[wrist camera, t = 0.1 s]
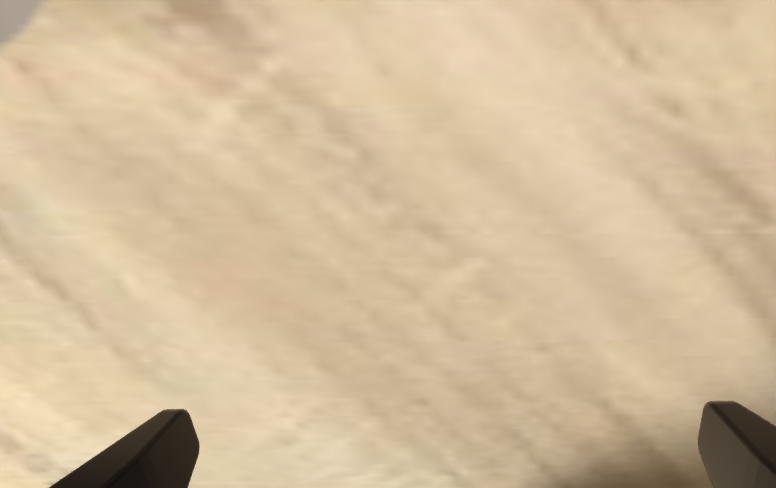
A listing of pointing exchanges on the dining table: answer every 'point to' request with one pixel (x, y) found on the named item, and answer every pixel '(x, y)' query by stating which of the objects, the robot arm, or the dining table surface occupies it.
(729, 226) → the dining table surface
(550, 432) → the dining table surface
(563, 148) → the dining table surface
